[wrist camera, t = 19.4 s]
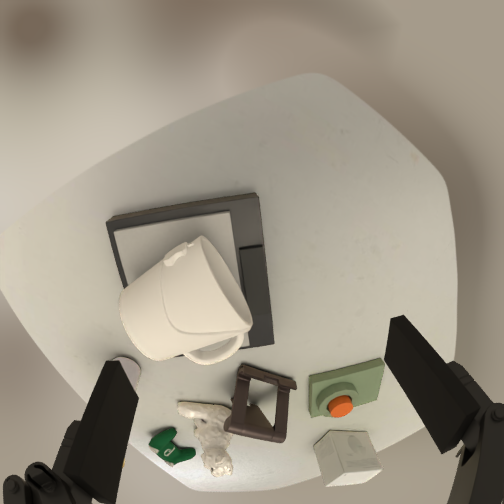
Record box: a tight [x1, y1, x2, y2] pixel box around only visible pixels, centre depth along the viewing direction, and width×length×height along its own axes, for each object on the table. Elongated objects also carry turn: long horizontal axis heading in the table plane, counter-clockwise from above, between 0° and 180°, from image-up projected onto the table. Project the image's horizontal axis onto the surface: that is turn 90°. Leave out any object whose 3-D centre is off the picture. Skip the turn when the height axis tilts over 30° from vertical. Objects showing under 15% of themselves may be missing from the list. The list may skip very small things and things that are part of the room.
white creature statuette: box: [178, 401, 233, 477], centre depth 37 cm, size 10×9×12 cm
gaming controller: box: [148, 428, 196, 467], centre depth 43 cm, size 9×4×6 cm
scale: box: [106, 193, 274, 359], centre depth 32 cm, size 16×18×3 cm
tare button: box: [328, 395, 353, 417], centre depth 39 cm, size 4×4×2 cm
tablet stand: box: [223, 364, 297, 443], centre depth 37 cm, size 9×8×8 cm
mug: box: [119, 236, 253, 365], centre depth 27 cm, size 12×9×8 cm
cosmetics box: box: [314, 431, 383, 487], centre depth 45 cm, size 10×6×10 cm, turn 66°
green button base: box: [309, 358, 385, 418], centre depth 42 cm, size 12×9×4 cm
